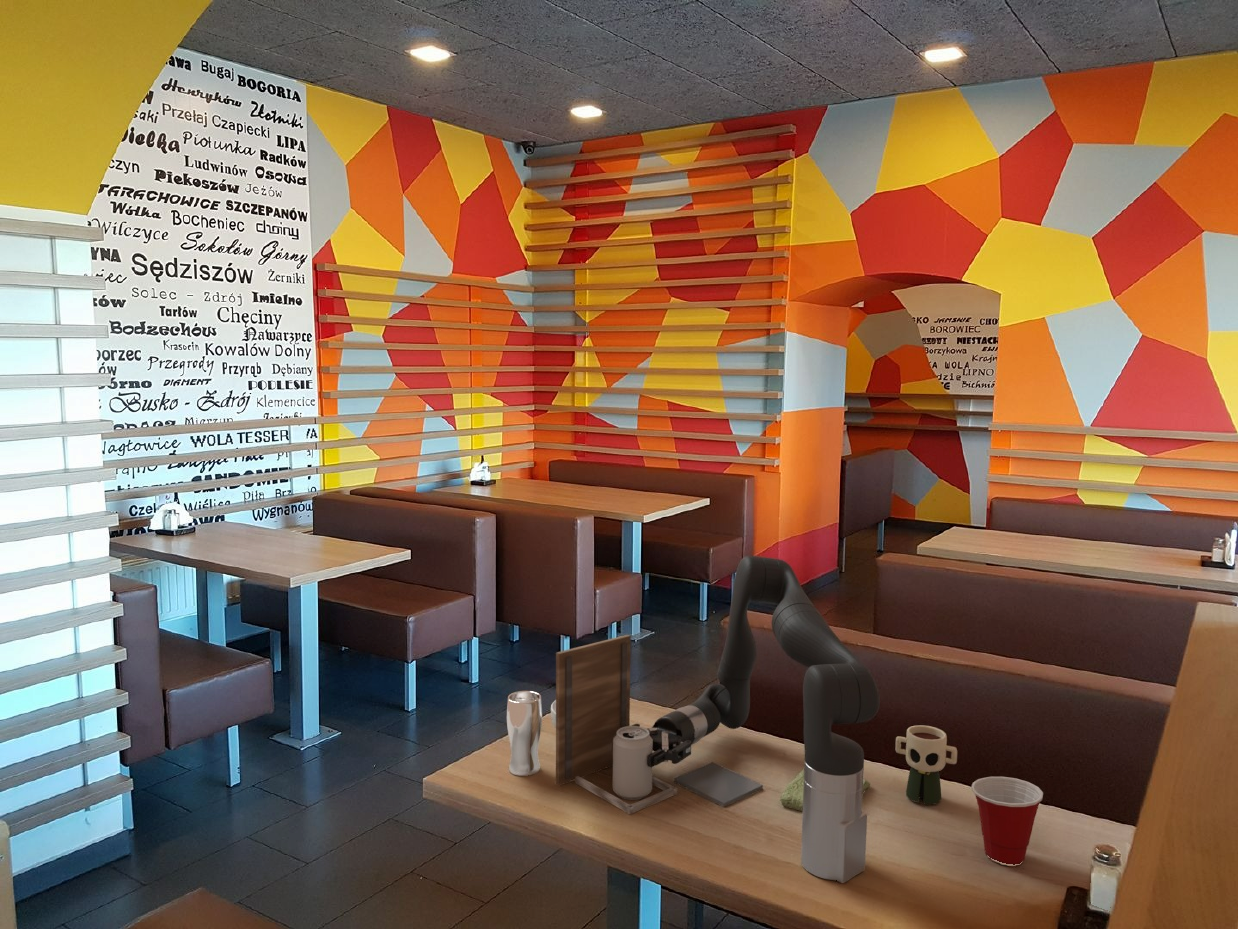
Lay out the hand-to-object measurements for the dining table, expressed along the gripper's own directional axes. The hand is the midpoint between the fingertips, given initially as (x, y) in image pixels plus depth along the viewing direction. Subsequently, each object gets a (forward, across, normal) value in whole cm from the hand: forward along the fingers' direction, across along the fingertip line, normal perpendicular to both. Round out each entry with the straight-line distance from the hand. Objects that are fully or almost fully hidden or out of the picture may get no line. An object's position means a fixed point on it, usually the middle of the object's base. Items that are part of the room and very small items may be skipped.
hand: (630, 755), depth 166 cm
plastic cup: (-22, +61, +8) cm, 65 cm away
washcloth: (-23, +28, +8) cm, 37 cm away
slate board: (-13, +11, +8) cm, 19 cm away
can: (-1, 0, +8) cm, 8 cm away
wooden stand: (-1, -2, +8) cm, 8 cm away
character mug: (-34, +43, +8) cm, 55 cm away
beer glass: (+6, -22, +8) cm, 24 cm away
